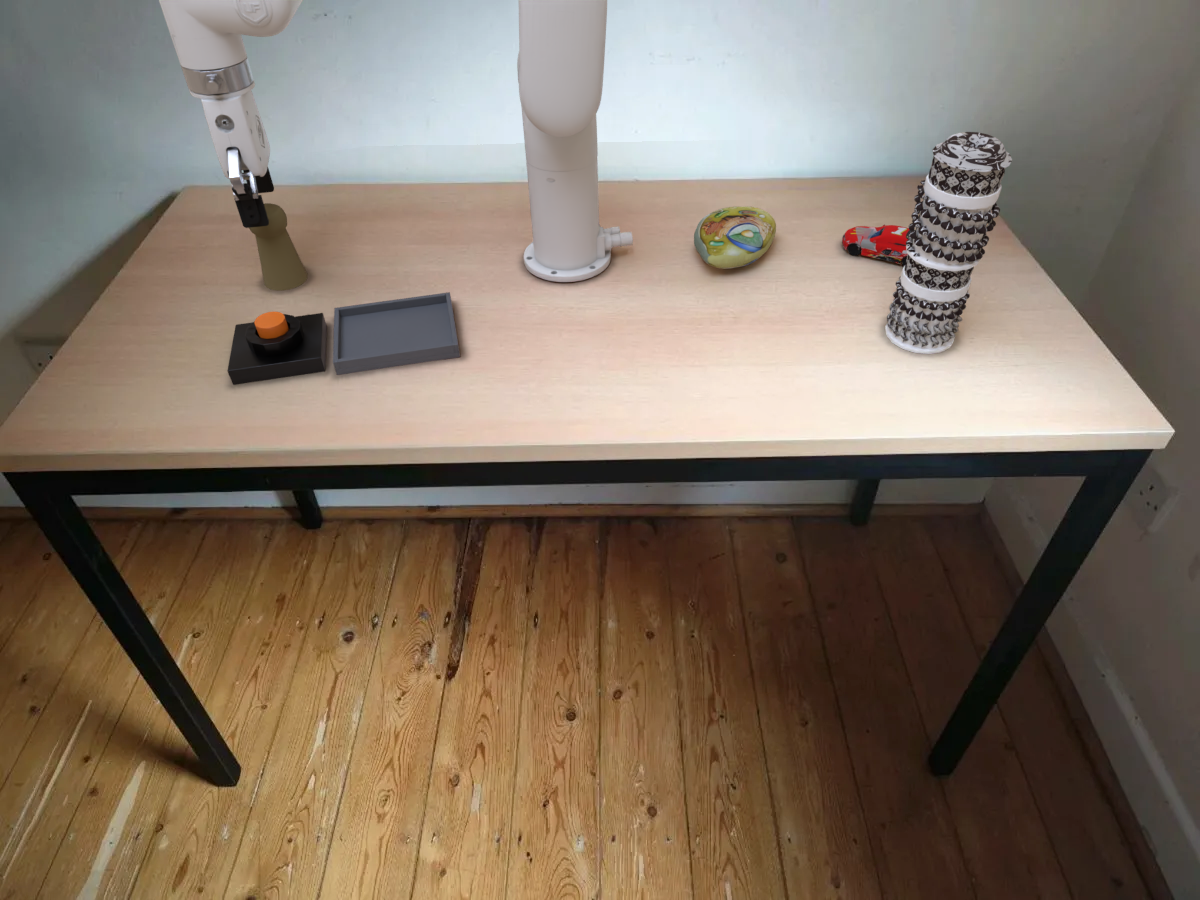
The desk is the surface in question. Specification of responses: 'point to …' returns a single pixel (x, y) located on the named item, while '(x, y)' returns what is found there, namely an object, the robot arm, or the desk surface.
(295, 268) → the olive rounded lobed piece
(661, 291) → the desk surface
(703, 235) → the cell model
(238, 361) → the control block
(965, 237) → the black white cylinder
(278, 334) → the button
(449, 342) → the tray
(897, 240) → the race car
